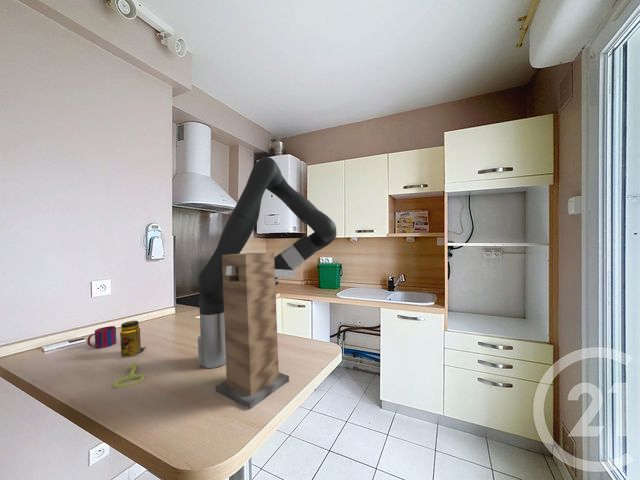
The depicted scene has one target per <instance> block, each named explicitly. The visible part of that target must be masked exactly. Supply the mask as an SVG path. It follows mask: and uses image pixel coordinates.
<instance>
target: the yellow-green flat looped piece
mask: <svg viewBox="0 0 640 480" xmlns="http://www.w3.org/2000/svg"><path fill="white" fill-rule="evenodd" d="M138 366H139V364H138V363H137V362H136V363H134V364H132V365H128V366H127V367H126V369H127V370H129V369H131V371H130V372H129V373H128V374H127V376H125V377H122V378H119V379H117V380H115V381H114V383H113V388H114V389H123V388H127V387H128V388H129V387H131V386H135V385H137V384H139V383H141V382H143V381H144V380H145V375H144V374H142V373H141V374H140V373H138V374H136V372H137V368H138ZM136 378H137V380H136ZM130 380H135V381H133V382H130V383H124V384H120V383H123V382H127V381H130Z"/></svg>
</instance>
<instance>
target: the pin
mask: <svg viewBox="0 0 640 480" xmlns="http://www.w3.org/2000/svg"><path fill="white" fill-rule="evenodd" d="M226 275H230V276H239V268H238V267H237V266H227V268H226ZM275 277H278V278H282V277H285V278H289V279H290V278H291V279H294V278H295V279H296V269H295V270H281V269H275Z"/></svg>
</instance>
